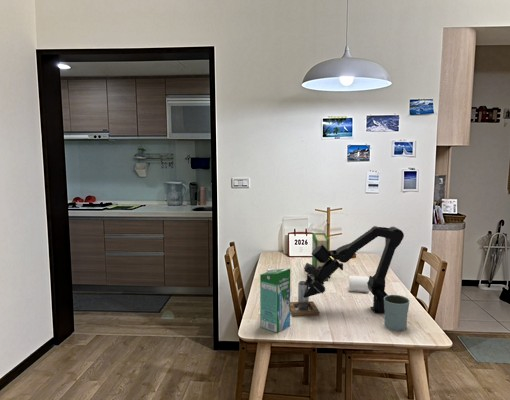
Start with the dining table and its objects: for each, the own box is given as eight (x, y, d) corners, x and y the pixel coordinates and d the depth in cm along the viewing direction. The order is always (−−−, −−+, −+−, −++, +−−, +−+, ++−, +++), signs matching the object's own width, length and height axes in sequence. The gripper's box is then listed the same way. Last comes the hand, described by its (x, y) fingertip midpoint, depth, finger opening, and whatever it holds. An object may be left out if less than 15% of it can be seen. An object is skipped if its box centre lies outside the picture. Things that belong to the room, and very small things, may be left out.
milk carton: (273, 320, 174) (273, 264, 171) (290, 325, 169) (290, 268, 166) (260, 327, 167) (260, 269, 164) (277, 333, 162) (277, 273, 159)
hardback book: (328, 281, 225) (328, 239, 222) (314, 281, 226) (315, 239, 223) (324, 271, 243) (324, 233, 240) (311, 271, 243) (312, 233, 240)
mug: (369, 294, 205) (369, 279, 204) (349, 293, 207) (349, 278, 206) (368, 286, 216) (368, 272, 215) (349, 285, 219) (349, 271, 218)
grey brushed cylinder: (310, 311, 183) (311, 282, 182) (302, 313, 181) (302, 284, 179) (304, 308, 187) (304, 280, 186) (295, 310, 185) (296, 281, 183)
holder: (319, 315, 179) (319, 311, 178) (292, 316, 178) (292, 312, 177) (313, 305, 191) (313, 301, 190) (288, 306, 190) (288, 302, 189)
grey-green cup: (402, 321, 172) (403, 294, 171) (412, 331, 162) (413, 303, 161) (379, 321, 172) (380, 294, 171) (387, 332, 162) (388, 303, 161)
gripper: (311, 252, 190) (288, 275, 192) (317, 263, 172) (292, 288, 173) (328, 268, 191) (305, 290, 193) (336, 281, 173) (310, 305, 174)
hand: (302, 293), depth 183 cm, fingers open, 9 cm apart
